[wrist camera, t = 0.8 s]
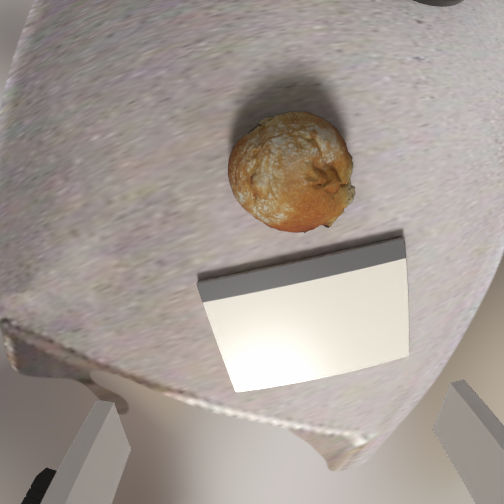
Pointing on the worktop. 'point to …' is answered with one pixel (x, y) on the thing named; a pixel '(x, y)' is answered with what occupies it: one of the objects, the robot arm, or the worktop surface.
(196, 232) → the worktop surface
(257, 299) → the mat
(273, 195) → the bread roll
